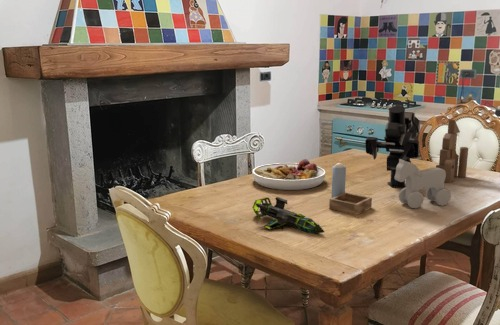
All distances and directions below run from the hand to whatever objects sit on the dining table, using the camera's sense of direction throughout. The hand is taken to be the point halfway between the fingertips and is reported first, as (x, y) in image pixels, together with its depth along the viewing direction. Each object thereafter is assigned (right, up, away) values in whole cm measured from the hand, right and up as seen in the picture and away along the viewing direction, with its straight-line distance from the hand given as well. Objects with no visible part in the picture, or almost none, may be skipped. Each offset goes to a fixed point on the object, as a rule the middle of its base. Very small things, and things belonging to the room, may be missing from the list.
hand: (387, 159), depth 177 cm
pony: (+12, -16, +1) cm, 20 cm away
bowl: (-32, -10, +33) cm, 47 cm away
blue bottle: (-16, -15, +7) cm, 23 cm away
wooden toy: (+37, -8, +36) cm, 52 cm away
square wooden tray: (-13, -17, -2) cm, 22 cm away
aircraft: (-36, -21, -18) cm, 45 cm away
